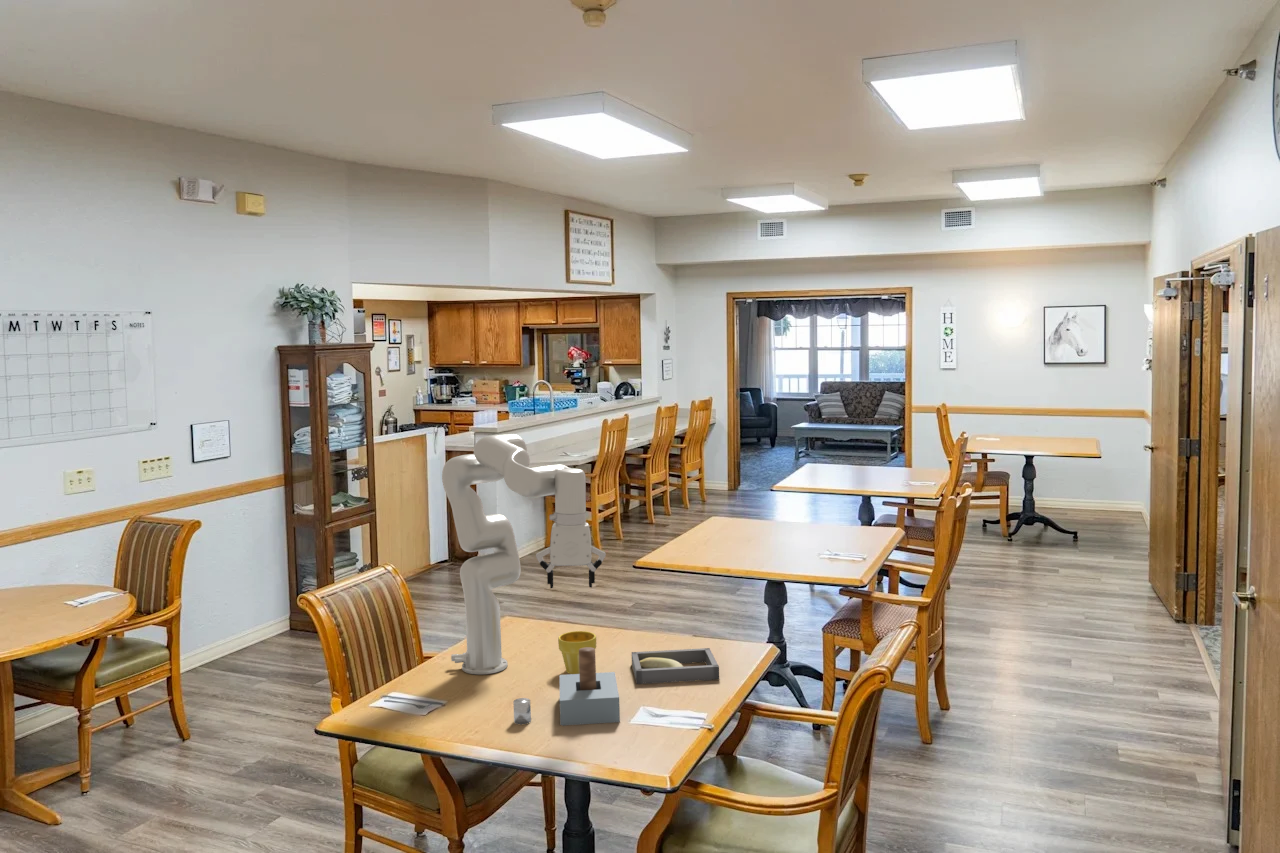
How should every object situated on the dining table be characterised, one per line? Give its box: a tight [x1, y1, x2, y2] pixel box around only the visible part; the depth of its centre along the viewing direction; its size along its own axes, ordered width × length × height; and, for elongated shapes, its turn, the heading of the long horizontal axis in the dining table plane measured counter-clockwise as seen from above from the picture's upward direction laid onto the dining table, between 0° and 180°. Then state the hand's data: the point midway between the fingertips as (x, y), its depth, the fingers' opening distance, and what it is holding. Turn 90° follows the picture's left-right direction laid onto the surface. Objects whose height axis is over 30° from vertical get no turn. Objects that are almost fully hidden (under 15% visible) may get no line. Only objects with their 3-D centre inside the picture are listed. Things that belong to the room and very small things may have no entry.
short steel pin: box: [512, 697, 532, 726], centre depth 226 cm, size 4×4×5 cm
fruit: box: [639, 657, 684, 669], centre depth 259 cm, size 7×15×3 cm, turn 41°
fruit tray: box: [631, 647, 720, 685], centre depth 258 cm, size 22×16×4 cm
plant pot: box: [558, 630, 597, 674], centre depth 261 cm, size 10×10×10 cm
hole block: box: [559, 671, 621, 726], centre depth 232 cm, size 14×18×6 cm
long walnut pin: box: [579, 647, 597, 691], centre depth 232 cm, size 4×4×15 cm
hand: (571, 586), depth 236 cm, fingers open, 9 cm apart
